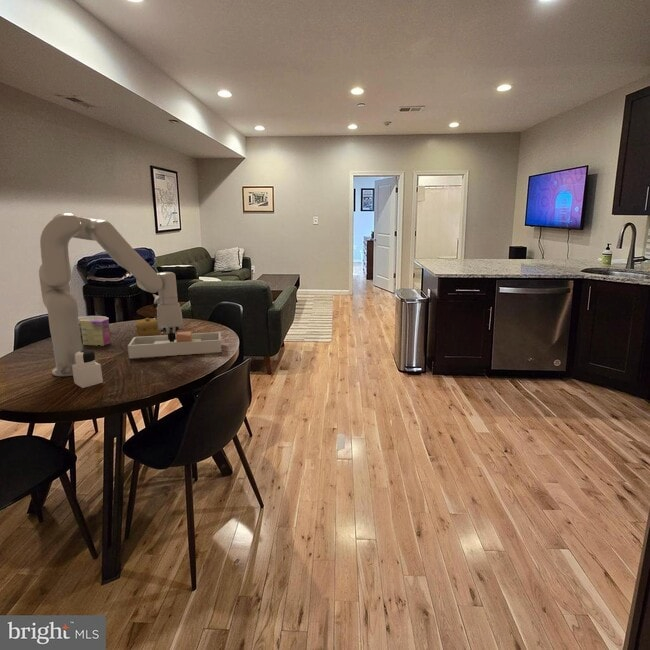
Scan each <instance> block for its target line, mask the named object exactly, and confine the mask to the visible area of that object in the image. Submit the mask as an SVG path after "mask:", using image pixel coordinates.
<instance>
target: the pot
mask: <svg viewBox="0 0 650 650" xmlns="http://www.w3.org/2000/svg"><path fill="white" fill-rule="evenodd" d="M135 328H136V330H135V333H136V334H137V337H143V336H160V335H161V334H160V333H161V331H162V330H160V329H158V321H157V319H153V318H150V317H146V318H143V319H140V320H138V321H136V323H135ZM159 334H160V335H159Z"/></svg>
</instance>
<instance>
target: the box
mask: <svg viewBox="0 0 650 650" xmlns="http://www.w3.org/2000/svg"><path fill="white" fill-rule="evenodd" d="M80 322H81V330H82V337H81V339H82V346H83V345H84V346H98V345H100V347H101V346H103V347H105V346H107V345H109V344H111V342H112V341H111V332H110V330H111V329H110V323H109V322H110V321H109V319H91V318H87V319H84V320H81V321H80ZM106 344H107V345H106ZM104 345H105V346H104Z"/></svg>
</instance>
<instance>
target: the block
mask: <svg viewBox="0 0 650 650" xmlns="http://www.w3.org/2000/svg"><path fill="white" fill-rule="evenodd" d="M192 334H193V333H192V331H179V332H177V333H176V335H177V336H176V339H177V342H189V341H192Z"/></svg>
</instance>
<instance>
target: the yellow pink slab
mask: <svg viewBox="0 0 650 650" xmlns="http://www.w3.org/2000/svg"><path fill="white" fill-rule="evenodd" d="M87 318H91V319H108V320H109V319H110V318H109V317H107V316H102V315H86V316H78V320H79V328H80V334H81V336H82V330H81V322H80V321H81V320H84V319H87Z"/></svg>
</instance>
